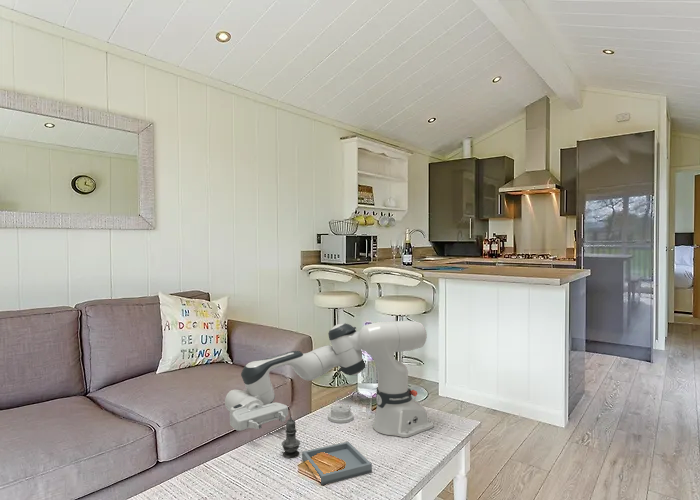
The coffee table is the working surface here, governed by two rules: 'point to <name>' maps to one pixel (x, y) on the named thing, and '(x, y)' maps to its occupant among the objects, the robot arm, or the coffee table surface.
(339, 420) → the mechanical component
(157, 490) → the coffee table surface
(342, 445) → the tray
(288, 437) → the dark stone stupa
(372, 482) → the coffee table surface
